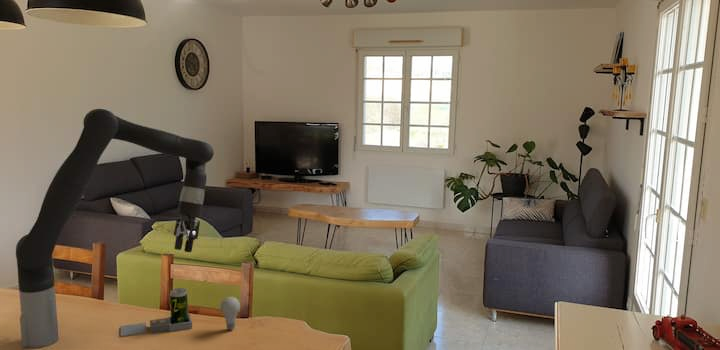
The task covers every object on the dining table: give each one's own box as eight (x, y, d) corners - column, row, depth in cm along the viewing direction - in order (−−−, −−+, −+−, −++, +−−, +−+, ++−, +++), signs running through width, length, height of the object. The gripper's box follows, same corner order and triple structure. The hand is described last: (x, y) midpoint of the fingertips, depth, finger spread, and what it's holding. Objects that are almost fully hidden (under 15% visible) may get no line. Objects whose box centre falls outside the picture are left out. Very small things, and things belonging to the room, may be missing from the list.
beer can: (169, 324, 182) (168, 289, 180) (186, 321, 184) (185, 286, 182) (172, 330, 177) (171, 295, 175) (190, 327, 179) (188, 292, 177)
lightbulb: (243, 326, 181) (242, 294, 179) (237, 334, 175) (236, 301, 173) (224, 325, 182) (224, 293, 180) (218, 333, 176) (217, 300, 174)
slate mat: (120, 337, 172) (120, 335, 172) (120, 327, 179) (120, 326, 179) (146, 333, 175) (146, 332, 175) (145, 323, 182) (145, 322, 182)
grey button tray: (150, 334, 174) (150, 326, 173) (150, 325, 180) (149, 317, 180) (192, 328, 179) (191, 320, 178) (189, 320, 185) (189, 312, 185)
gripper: (172, 199, 185) (163, 247, 183) (189, 200, 174) (179, 251, 172) (193, 203, 190) (185, 250, 188) (211, 204, 179) (202, 254, 177)
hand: (182, 250), depth 180 cm, fingers open, 8 cm apart
